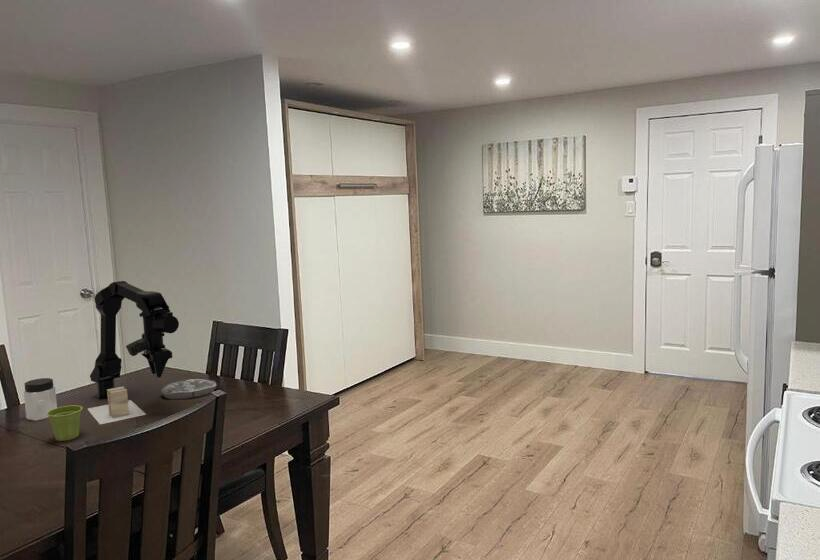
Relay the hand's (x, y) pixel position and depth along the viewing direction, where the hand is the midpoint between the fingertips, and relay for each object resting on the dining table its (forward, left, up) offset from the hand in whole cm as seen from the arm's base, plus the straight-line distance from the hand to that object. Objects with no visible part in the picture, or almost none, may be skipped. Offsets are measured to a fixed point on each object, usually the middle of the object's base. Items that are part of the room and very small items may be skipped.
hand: (156, 375), depth 206 cm
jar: (-20, -32, -12) cm, 40 cm away
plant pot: (+8, -29, -12) cm, 32 cm away
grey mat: (-7, -12, -12) cm, 18 cm away
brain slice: (-13, +14, -13) cm, 23 cm away
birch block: (-3, -12, -12) cm, 17 cm away
